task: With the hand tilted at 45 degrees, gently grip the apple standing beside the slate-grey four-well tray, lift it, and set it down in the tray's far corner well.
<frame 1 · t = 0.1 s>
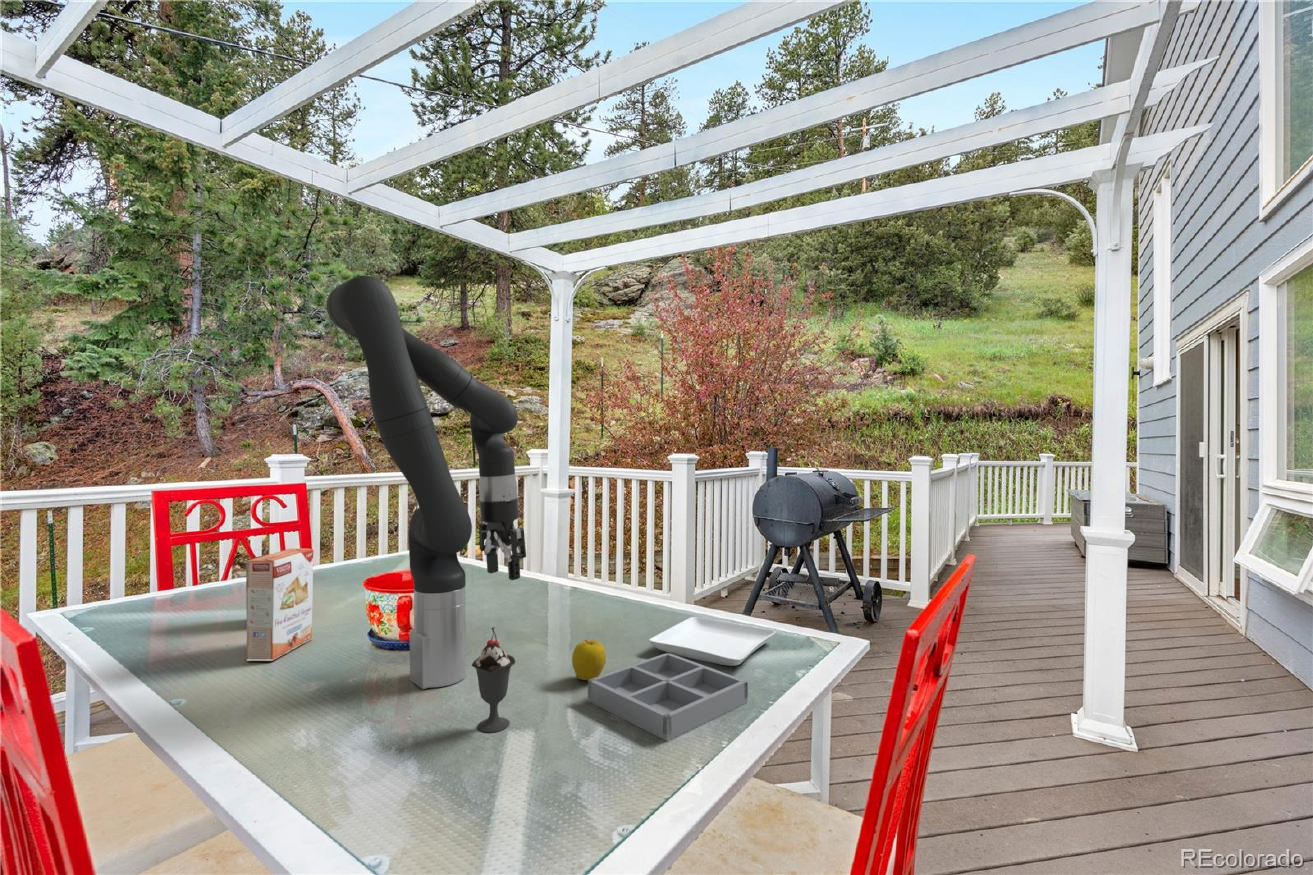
hand: (503, 575, 125), 17 cm above the table, tool pointing down, fingers open, 8 cm apart
cracker box: (281, 652, 130), on the table
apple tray: (667, 701, 105), on the table
coffee box: (270, 623, 151), on the table
apple: (589, 681, 115), on the table
salad plate: (713, 650, 132), on the table
sundae: (493, 726, 97), on the table
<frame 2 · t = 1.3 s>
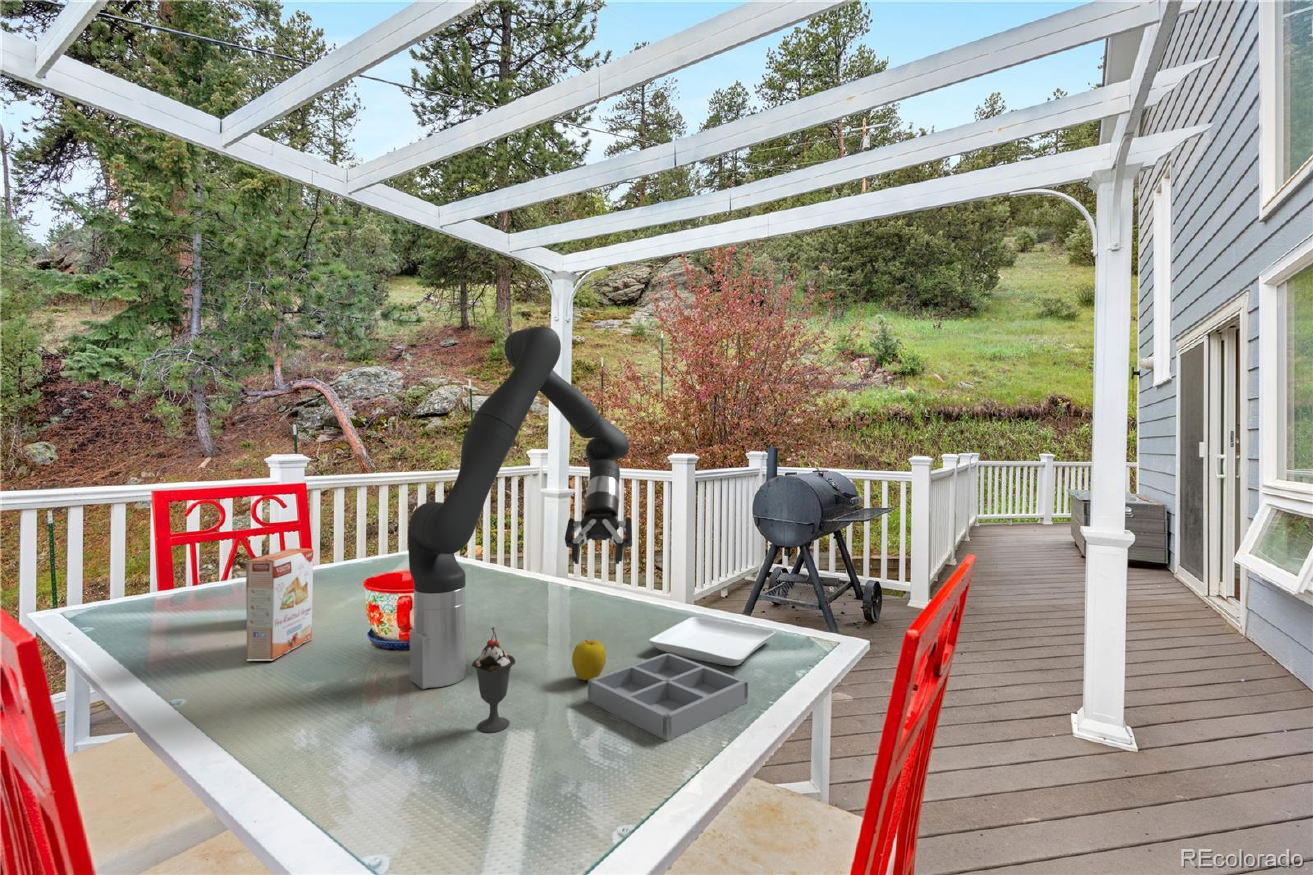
hand: (596, 562, 126), 20 cm above the table, tool tilted 45°, fingers open, 8 cm apart
nothing on the table moved.
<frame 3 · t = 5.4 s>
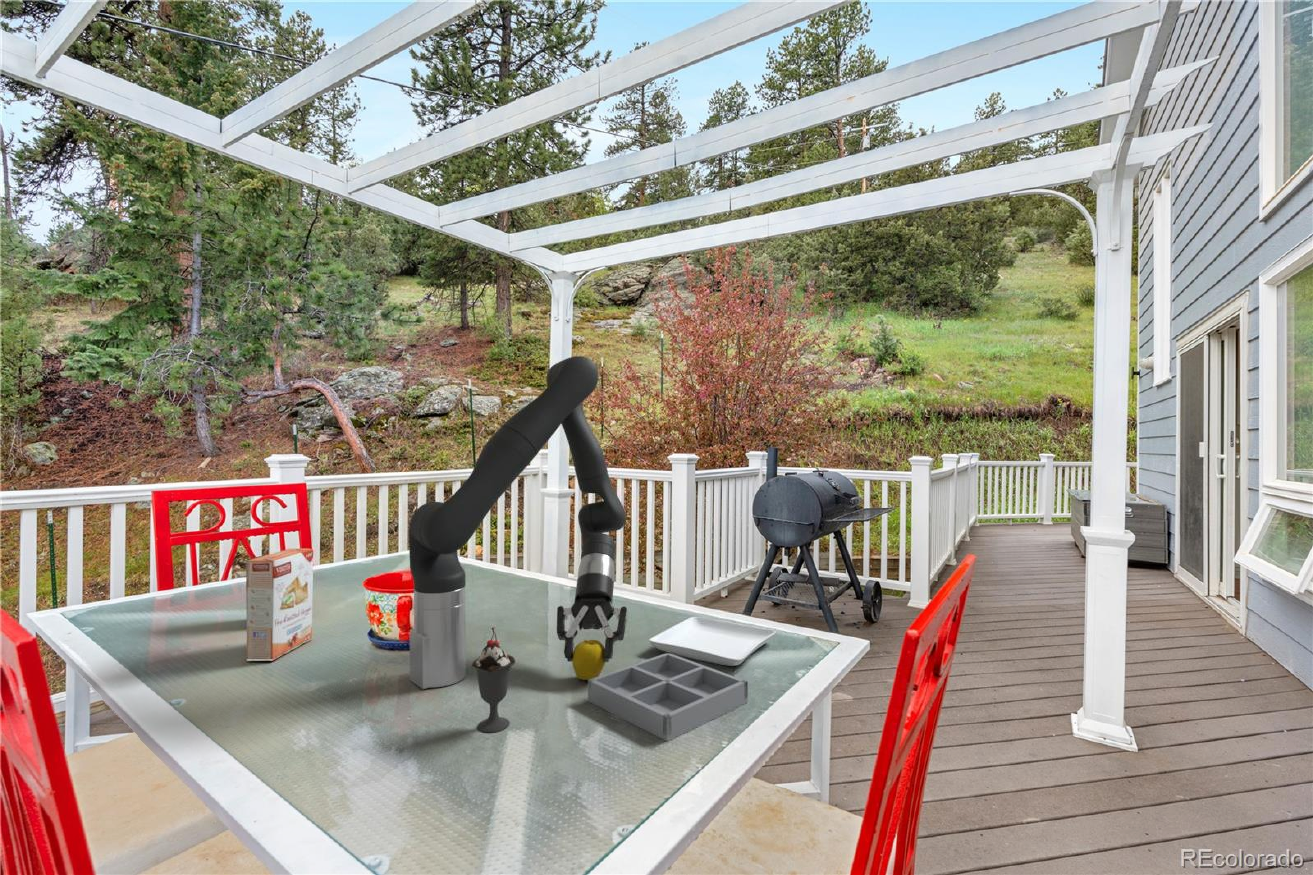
hand: (587, 659, 113), 4 cm above the table, tool tilted 45°, fingers closed on apple, 6 cm apart
apple: (589, 680, 115), on the table, touching gripper
everything else where it was.
when the fingers open (7 cm above the table, at t = 11.2 s): apple drops 1 cm, resting on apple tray.
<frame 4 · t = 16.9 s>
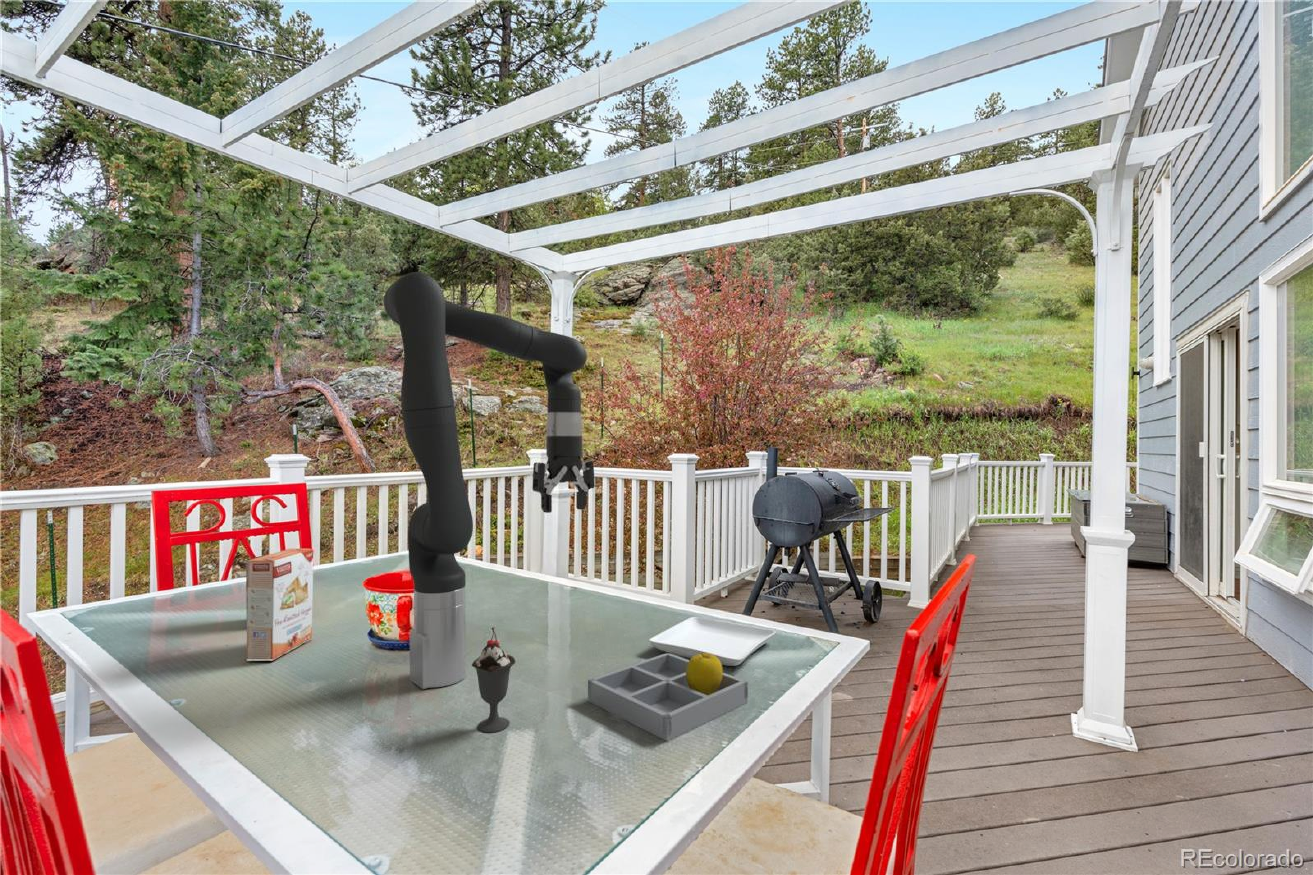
hand: (564, 510, 129), 30 cm above the table, tool pointing down, fingers open, 8 cm apart
apple: (704, 697, 105), point 1 cm above the table, touching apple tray
everything else where it was.
at the end: apple 0.4 cm from the target spot on the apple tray, point 0.6 cm above the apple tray's base; the gripper is holding nothing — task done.
